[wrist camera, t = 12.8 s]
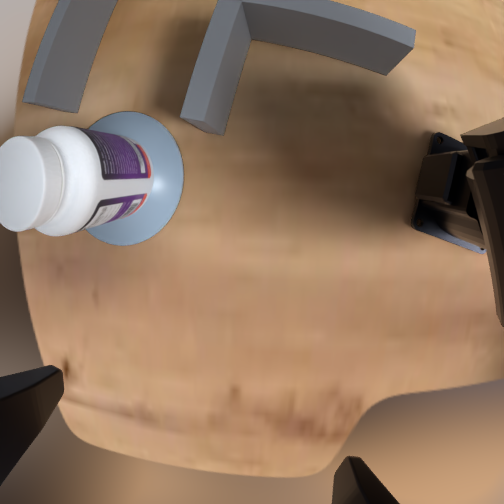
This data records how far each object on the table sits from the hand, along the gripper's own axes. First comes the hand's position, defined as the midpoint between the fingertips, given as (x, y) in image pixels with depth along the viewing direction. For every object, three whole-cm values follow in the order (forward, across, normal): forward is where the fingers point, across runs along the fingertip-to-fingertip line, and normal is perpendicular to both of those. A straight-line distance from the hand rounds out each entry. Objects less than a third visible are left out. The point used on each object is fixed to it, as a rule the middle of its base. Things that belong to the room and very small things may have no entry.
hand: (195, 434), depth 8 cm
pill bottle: (+13, +10, -5) cm, 17 cm away
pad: (+13, +10, -5) cm, 17 cm away
